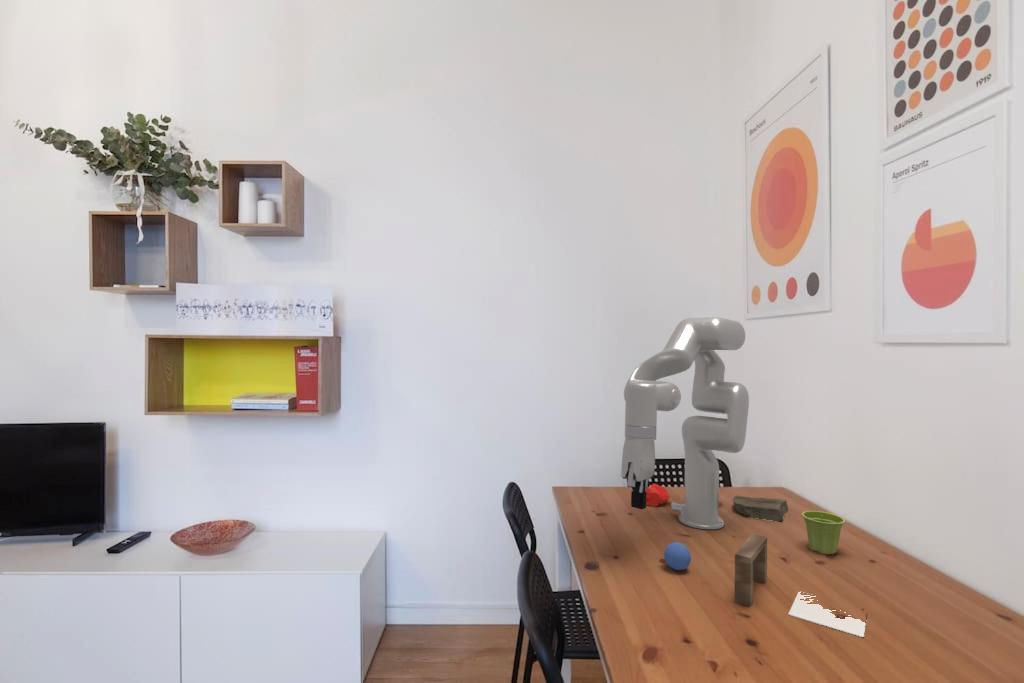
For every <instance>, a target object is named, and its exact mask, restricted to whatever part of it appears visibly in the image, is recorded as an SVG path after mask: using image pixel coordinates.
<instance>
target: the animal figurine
mask: <svg viewBox="0 0 1024 683" xmlns="http://www.w3.org/2000/svg"><path fill="white" fill-rule="evenodd" d="M645 492H646V506H651V507H655V508H656V507H657V506H659V505H662V504H666V503H668V502H669V501H670V499H671V496H670V494H669V492H668V490H667V489H666V487H664V486H662V485H658V484H657V483H652V484H651V485H650V486H649V487H647V491H645Z"/></svg>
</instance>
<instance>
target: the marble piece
mask: <svg viewBox="0 0 1024 683" xmlns="http://www.w3.org/2000/svg"><path fill="white" fill-rule="evenodd" d="M732 500H733V501H732V502H733V506H734V508H735V510H736V511H737V513H738V514H740V513H741V514H740V515H742V514H744V515H743V516H745V515H747V516H749V517H751V518H759V519H766V520H773V521H779V522H782V521H784V519H783V516H784V517H785V515H784V514H785V513H787V511H788V512H789V506H788V504H787V500H786V499H781V498H780V499H779V498H768V497H749V496H741V495H735V496H734V497H733V498H732ZM787 514H788V513H787ZM747 516H746V517H747ZM749 517H748V518H749ZM751 518H750V519H751ZM759 519H758V520H759ZM773 521H772V522H773Z"/></svg>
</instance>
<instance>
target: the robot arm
mask: <svg viewBox="0 0 1024 683" xmlns="http://www.w3.org/2000/svg"><path fill="white" fill-rule="evenodd" d="M745 341H746V331H745V328H744V326H743V324H741V323H740V322H739V321H737V320H732V319H728V318H722V317H689V318H685V319H683V320H681V321H680V322H679V323H677V325H676V327H675V328H674V331H673V332H672V334H671V336H670V338H669V339H668V341H667V342H666V344H665V346H664V348H663V349H662V350H661V351H660V352H658V353H656V354H653V355H652V356H651V357H649V358H647V359H645V360H644V361H642V362H641V363H639V365H637V366H636V367H635V368H634V370H633V371H632V373H631V375H630V377H629V378H628V380H627V382H626V383H625V386H624V389H623V398H624V402H625V410H624V412H625V415H624V419H625V421H624V441H623V448H622V455H621V456H622V457H621V470H620V472H621V473H620V474H621V475H620V477H621V479H622V480H623V479H624V480H626V479H627V487H630V491H631V498H630V506H631V508H634V509H638V510H644V509H646V508H647V505H646V492H645V491H647V488H648V484H649V481H650V479H651V478H652V477H653V476H654V475H655V470H656V469H655V468H656V452H655V451H656V447H655V441H657V420H658V419H657V418H658V415H657V414H658V412H659V411H660V412H671V411H674V410H675V409H677V407H678V406H680V403H681V399H682V395H681V394H682V393H681V390H680V388H679V387H678V386H677V385H676V384H675V383H673V382H669V381H658V380H661V379H663V378H666V377H671V376H675V375H677V374H681V373H683V372H686V371H687V370H689V369H690V368H691V367H692V365H693V364H694V376H693V381H692V382H693V383H692V391H691V393H692V394H691V405H692V407H693V408H694V409H695V410H696V411H699V412H704V413H710V414H721V415H726V416H727V418H723V417H714V416H706V415H692V416H691V415H690V416H688V417H686V418H685V419H684V420H683V422H682V424H681V435H682V441H683V442H682V443H683V447H684V449H683V450H684V503H678V502H674V501H672V502H671V503H670V507H671V510H672V511H674V512H678V513H679V515H678V520H679V522H680V523H682V524H684V526H685V525H686V526H688V527H691V528H693V529H701V530H718V529H722V528H723V527H724V525H725V521H724V519H723V518H721V517H720V516H719V497H720V496H719V493H720V492H719V490H720V486H719V485H720V484H719V483H720V481H719V480H720V476H719V475H720V465H719V461H718V459H717V457H716V455H715V454H714V452H713V451H718V452H723V453H732V454H737V453H739V452H741V451H742V450H743V448H744V446H745V442H746V435H747V426H748V418H749V408H750V407H749V405H750V396H749V391H748V390H747V388H746V386H744V384H742V383H739V382H736V381H735V382H734V381H725V373H726V372H725V370H726V366H725V363H724V362H723V360H722V358H721V356H720V355H719V354H718V352H716V351H737V350H739V349H741V348H742V347H743V345H744V344H745ZM693 362H694V363H693ZM657 411H658V412H657Z"/></svg>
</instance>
